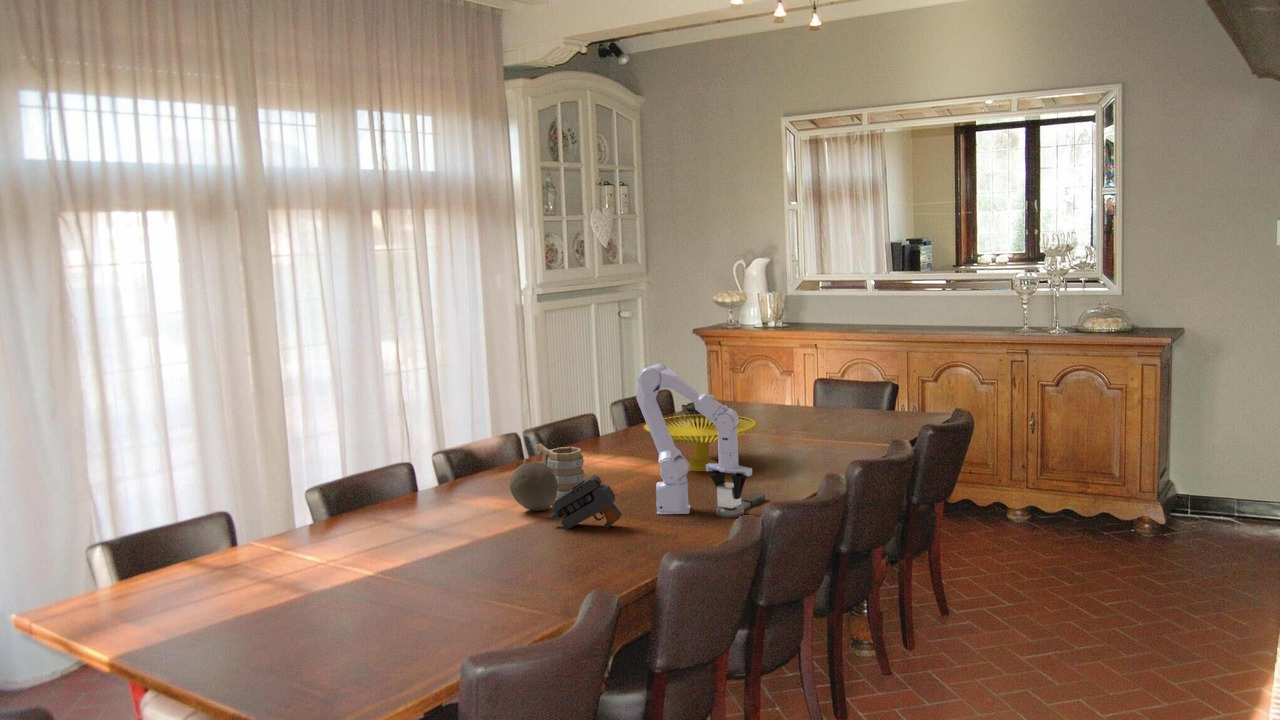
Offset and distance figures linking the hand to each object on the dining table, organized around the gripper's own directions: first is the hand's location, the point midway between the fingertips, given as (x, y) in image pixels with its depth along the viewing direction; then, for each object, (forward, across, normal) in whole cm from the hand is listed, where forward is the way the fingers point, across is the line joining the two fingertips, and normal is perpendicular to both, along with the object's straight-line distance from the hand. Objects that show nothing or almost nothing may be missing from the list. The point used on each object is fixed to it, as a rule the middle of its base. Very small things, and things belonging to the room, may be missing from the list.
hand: (729, 497), depth 300 cm
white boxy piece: (+2, 0, 0) cm, 2 cm away
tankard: (+5, -64, -2) cm, 64 cm away
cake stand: (+5, -40, +47) cm, 62 cm away
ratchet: (+5, 0, +7) cm, 9 cm away
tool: (+5, -30, -30) cm, 43 cm away
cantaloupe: (+5, -54, -24) cm, 60 cm away
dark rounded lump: (+5, -74, +101) cm, 125 cm away
